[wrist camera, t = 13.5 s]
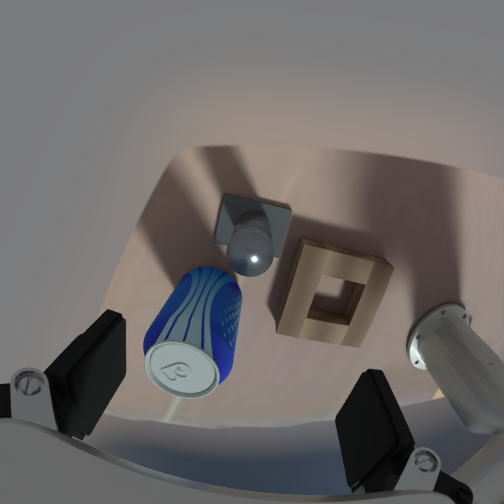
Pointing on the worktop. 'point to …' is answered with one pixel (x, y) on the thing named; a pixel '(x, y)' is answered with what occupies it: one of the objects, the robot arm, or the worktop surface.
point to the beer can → (194, 334)
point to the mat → (239, 205)
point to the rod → (251, 245)
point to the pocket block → (339, 266)
